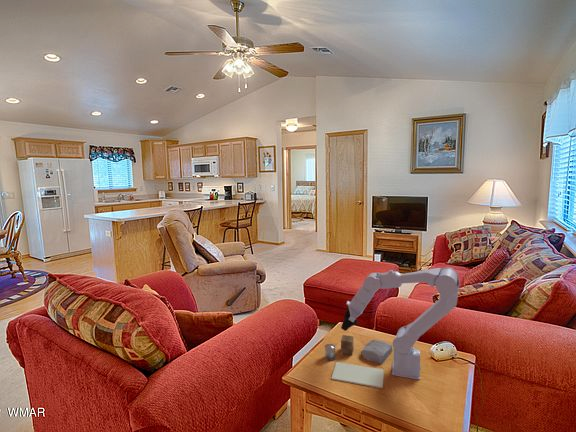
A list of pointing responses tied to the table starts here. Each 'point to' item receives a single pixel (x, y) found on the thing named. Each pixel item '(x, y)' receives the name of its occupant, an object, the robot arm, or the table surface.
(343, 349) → the walnut block
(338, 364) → the sage mat
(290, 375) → the table surface
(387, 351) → the stone block
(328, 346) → the steel cylinder
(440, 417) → the table surface
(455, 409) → the table surface
